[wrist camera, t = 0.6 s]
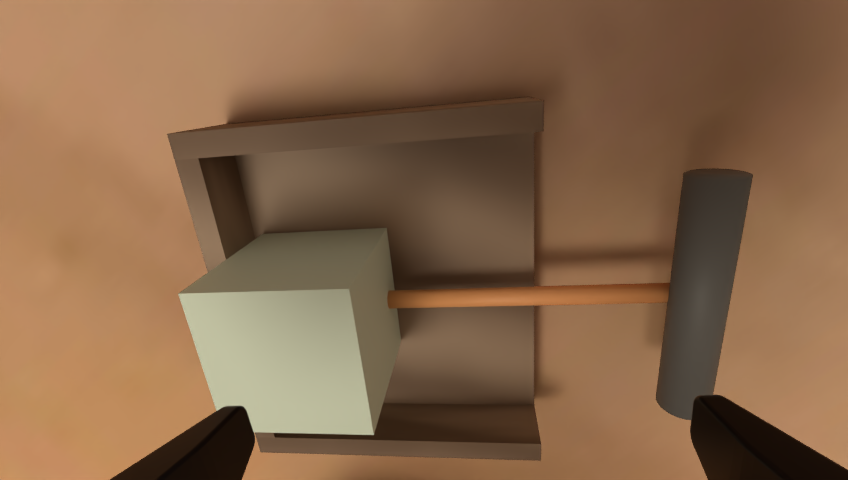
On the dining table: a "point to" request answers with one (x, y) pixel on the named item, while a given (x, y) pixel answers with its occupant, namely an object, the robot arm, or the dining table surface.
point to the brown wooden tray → (400, 252)
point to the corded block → (378, 301)
